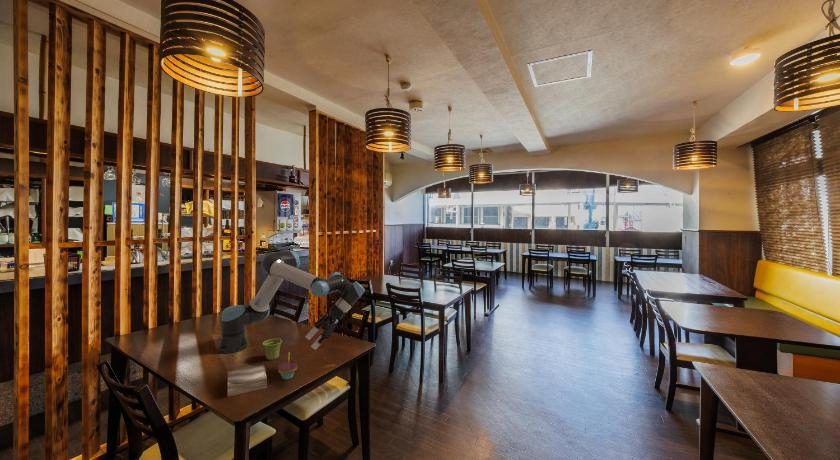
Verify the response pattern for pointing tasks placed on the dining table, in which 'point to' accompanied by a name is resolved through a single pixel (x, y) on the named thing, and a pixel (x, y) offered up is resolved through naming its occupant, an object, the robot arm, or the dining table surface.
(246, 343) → the robot arm
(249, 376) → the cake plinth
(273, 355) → the plant pot
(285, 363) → the cupcake
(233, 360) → the dining table surface
